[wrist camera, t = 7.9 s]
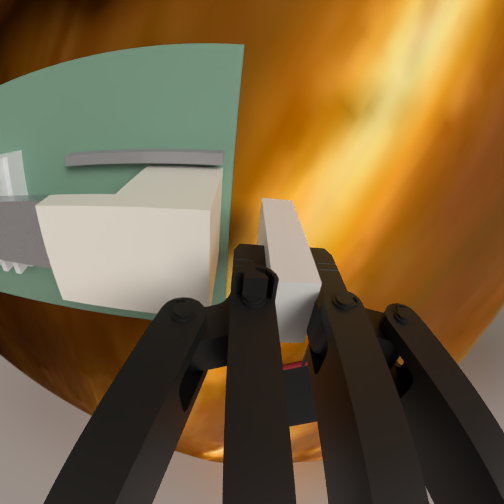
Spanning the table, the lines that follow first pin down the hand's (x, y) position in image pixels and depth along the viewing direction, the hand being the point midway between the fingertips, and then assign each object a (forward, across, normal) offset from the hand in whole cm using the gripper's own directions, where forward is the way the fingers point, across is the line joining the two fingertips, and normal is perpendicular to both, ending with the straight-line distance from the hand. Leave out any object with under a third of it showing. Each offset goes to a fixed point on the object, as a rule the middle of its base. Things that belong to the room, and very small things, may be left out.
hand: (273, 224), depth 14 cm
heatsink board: (+2, -16, 0) cm, 16 cm away
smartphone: (+3, +6, -22) cm, 23 cm away
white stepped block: (+1, -7, 0) cm, 7 cm away
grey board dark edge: (-1, -20, 0) cm, 20 cm away
